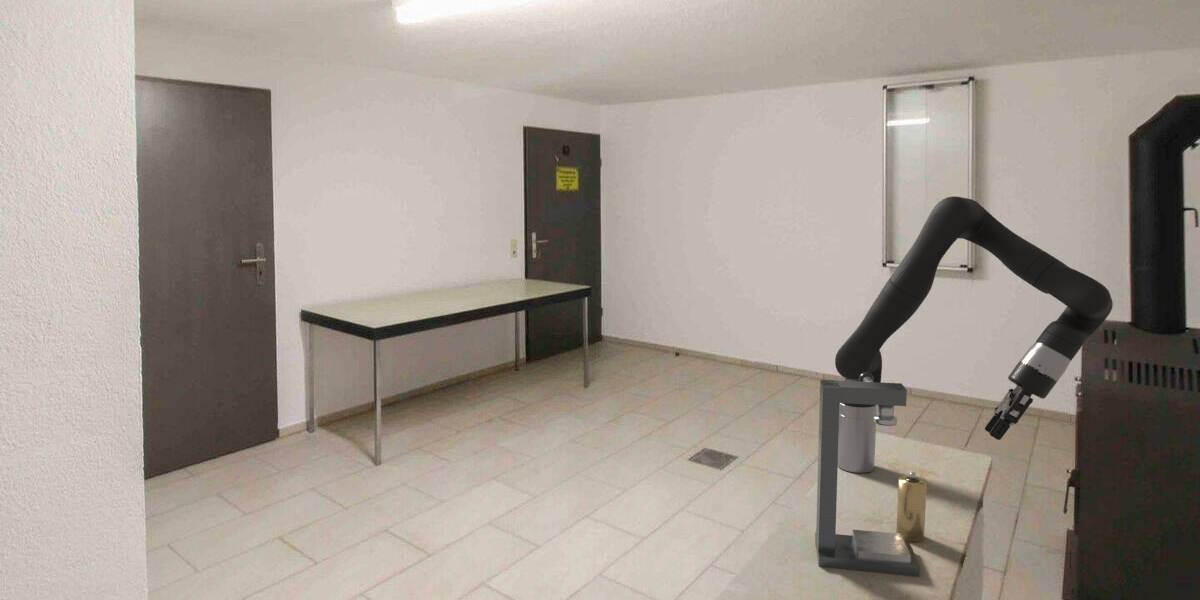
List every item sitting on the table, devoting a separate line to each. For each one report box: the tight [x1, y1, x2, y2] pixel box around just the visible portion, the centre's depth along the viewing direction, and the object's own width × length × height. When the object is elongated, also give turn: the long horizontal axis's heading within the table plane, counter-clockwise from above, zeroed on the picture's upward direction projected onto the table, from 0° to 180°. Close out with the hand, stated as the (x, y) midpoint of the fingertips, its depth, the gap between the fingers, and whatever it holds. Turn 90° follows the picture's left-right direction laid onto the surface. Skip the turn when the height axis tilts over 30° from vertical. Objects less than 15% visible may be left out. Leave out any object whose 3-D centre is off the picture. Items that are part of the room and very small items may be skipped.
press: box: [814, 372, 921, 577], centre depth 133 cm, size 18×18×34 cm
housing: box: [895, 471, 928, 544], centre depth 139 cm, size 5×5×14 cm
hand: (991, 434), depth 142 cm, fingers open, 8 cm apart
